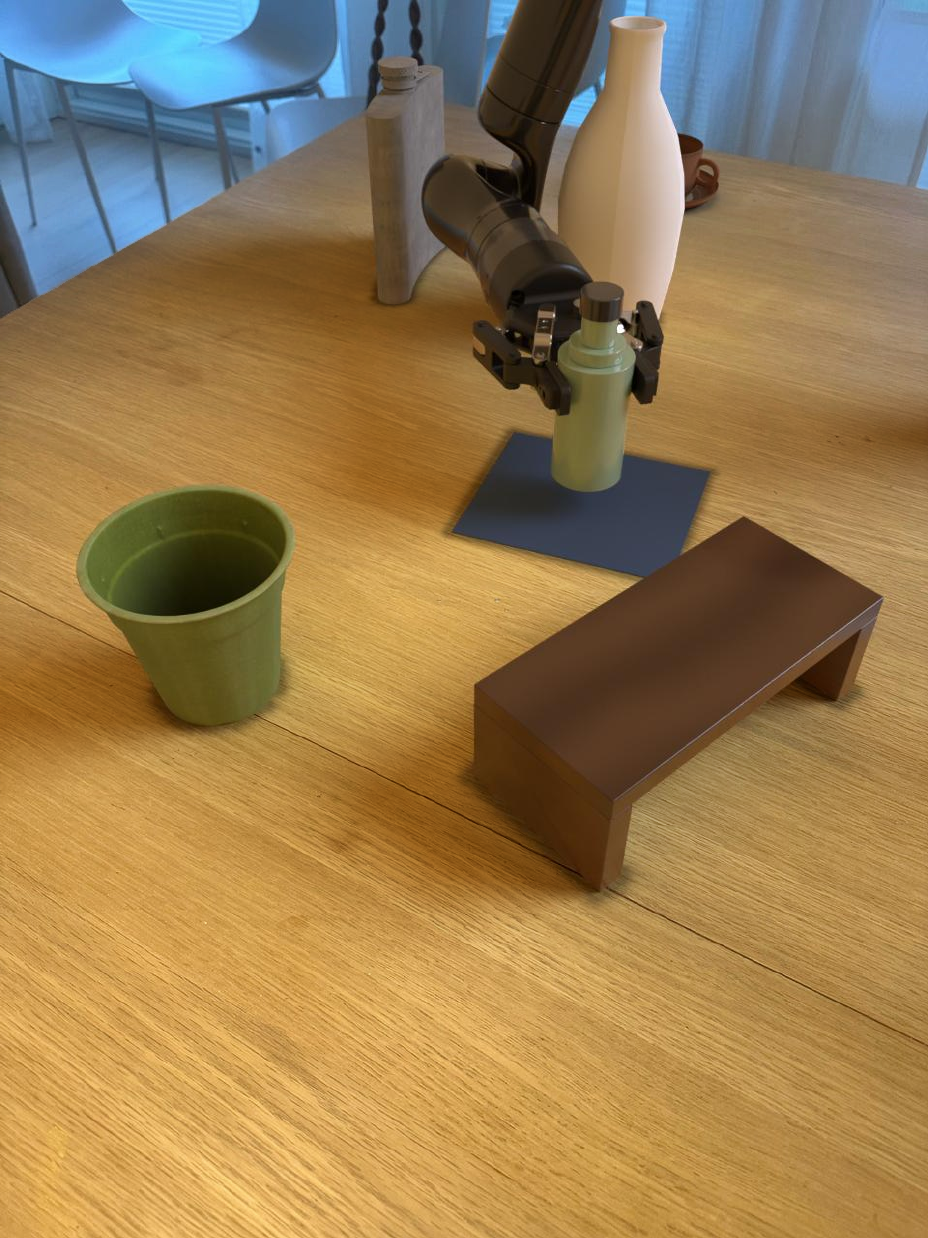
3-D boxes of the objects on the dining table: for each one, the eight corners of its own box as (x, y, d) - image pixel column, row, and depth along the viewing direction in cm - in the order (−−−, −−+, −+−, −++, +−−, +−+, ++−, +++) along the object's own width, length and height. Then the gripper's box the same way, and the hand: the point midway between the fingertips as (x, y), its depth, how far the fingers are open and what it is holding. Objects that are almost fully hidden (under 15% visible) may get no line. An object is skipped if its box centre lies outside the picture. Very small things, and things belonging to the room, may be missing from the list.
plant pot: (157, 617, 70) (118, 478, 63) (332, 628, 69) (314, 489, 62) (94, 753, 62) (39, 612, 54) (292, 769, 61) (266, 627, 53)
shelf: (473, 780, 60) (473, 684, 55) (723, 610, 70) (743, 515, 65) (599, 897, 54) (613, 802, 49) (850, 693, 65) (885, 596, 59)
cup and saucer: (718, 183, 125) (727, 129, 121) (713, 223, 117) (722, 166, 112) (618, 175, 127) (623, 121, 123) (605, 214, 119) (609, 158, 114)
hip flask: (405, 309, 102) (393, 88, 89) (365, 305, 103) (348, 84, 89) (450, 243, 113) (446, 37, 100) (414, 239, 114) (405, 34, 101)
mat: (709, 476, 82) (710, 471, 81) (668, 588, 72) (669, 582, 72) (514, 436, 86) (514, 431, 86) (451, 537, 76) (451, 531, 76)
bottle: (586, 359, 95) (611, 49, 78) (531, 307, 102) (542, 13, 85) (691, 334, 98) (738, 31, 81) (630, 285, 106) (660, -2, 88)
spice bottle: (636, 472, 77) (660, 291, 67) (588, 501, 74) (605, 318, 65) (583, 442, 80) (599, 265, 70) (535, 469, 77) (545, 289, 67)
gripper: (443, 248, 78) (505, 361, 66) (626, 228, 80) (717, 333, 68) (445, 340, 83) (502, 460, 71) (616, 318, 86) (700, 431, 74)
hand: (607, 397), depth 70 cm, fingers closed on spice bottle, 5 cm apart
